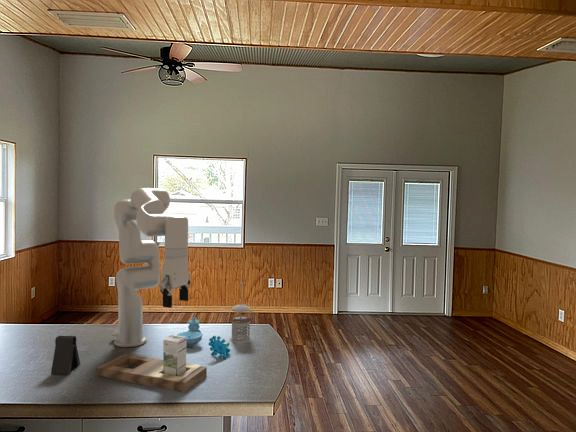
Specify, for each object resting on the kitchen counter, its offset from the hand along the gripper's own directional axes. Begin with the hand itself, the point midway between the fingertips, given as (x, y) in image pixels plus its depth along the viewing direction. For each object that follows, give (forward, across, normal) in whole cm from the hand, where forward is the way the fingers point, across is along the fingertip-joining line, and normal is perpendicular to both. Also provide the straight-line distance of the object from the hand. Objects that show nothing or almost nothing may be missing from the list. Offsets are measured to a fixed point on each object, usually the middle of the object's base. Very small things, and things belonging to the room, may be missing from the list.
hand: (175, 303), depth 151 cm
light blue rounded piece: (+26, -35, -15) cm, 46 cm away
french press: (+26, -47, +3) cm, 54 cm away
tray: (+26, 0, -9) cm, 27 cm away
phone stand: (+26, +7, -40) cm, 48 cm away
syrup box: (+26, 0, 0) cm, 26 cm away
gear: (+26, -25, +4) cm, 37 cm away
